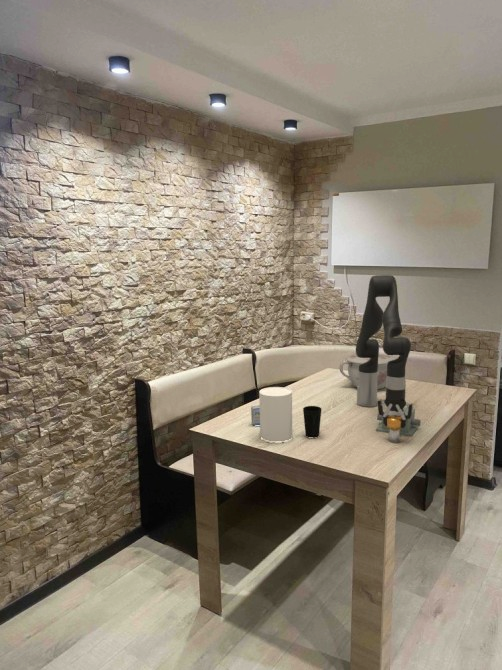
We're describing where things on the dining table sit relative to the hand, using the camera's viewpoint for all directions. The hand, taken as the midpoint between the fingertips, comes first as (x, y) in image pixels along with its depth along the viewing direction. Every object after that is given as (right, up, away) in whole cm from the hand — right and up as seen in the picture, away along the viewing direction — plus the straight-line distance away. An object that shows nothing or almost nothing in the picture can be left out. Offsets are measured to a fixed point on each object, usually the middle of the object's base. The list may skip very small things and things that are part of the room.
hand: (394, 426), depth 201 cm
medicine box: (-54, -4, +24) cm, 59 cm away
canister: (-48, -6, +8) cm, 49 cm away
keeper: (+2, +3, +8) cm, 9 cm away
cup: (-32, -6, +9) cm, 34 cm away
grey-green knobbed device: (+6, -3, +17) cm, 18 cm away
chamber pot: (+9, +7, +81) cm, 81 cm away
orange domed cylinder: (0, -6, +1) cm, 6 cm away
